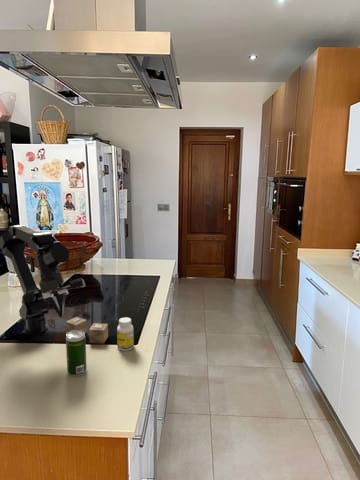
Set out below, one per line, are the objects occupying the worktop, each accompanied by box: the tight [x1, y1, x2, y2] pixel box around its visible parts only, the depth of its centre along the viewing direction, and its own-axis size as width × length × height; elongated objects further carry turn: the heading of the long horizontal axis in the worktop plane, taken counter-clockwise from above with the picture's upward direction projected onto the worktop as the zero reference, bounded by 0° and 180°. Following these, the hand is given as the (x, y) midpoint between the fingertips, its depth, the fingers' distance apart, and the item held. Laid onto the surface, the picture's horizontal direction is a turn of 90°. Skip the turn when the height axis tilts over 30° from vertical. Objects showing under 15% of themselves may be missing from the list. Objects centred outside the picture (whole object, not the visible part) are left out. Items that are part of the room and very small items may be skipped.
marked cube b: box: [65, 316, 88, 334], centre depth 122 cm, size 5×5×5 cm
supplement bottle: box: [116, 316, 135, 351], centre depth 112 cm, size 5×5×10 cm
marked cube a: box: [88, 322, 109, 345], centre depth 117 cm, size 5×5×5 cm
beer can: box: [65, 330, 88, 378], centre depth 98 cm, size 5×5×12 cm
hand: (61, 316), depth 108 cm, fingers closed
